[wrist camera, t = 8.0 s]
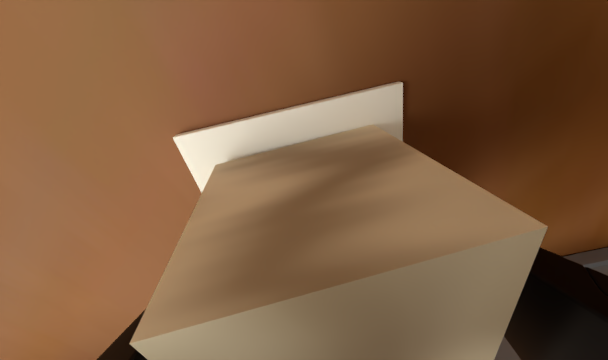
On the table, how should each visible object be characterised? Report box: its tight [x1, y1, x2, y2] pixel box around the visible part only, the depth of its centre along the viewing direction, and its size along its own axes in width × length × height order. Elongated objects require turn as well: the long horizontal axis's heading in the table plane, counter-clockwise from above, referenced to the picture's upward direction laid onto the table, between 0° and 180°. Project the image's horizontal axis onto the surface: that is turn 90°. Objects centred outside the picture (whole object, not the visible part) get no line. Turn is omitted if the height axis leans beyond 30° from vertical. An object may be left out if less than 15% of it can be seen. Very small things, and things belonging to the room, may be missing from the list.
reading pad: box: [173, 82, 403, 192], centre depth 11 cm, size 9×9×1 cm
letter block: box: [129, 124, 548, 360], centre depth 8 cm, size 6×7×6 cm
